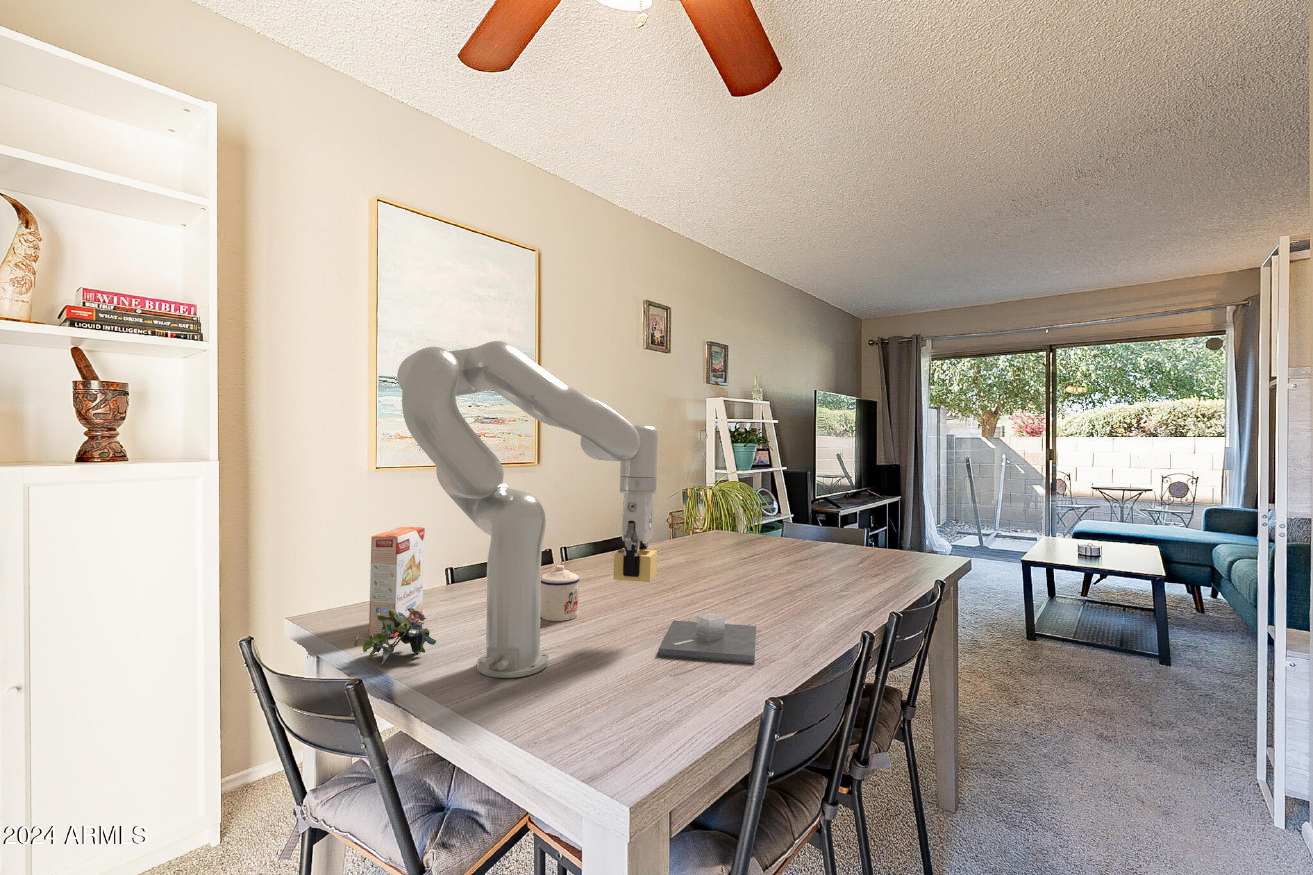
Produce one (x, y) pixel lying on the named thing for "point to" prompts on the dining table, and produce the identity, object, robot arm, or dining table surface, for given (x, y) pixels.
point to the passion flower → (407, 632)
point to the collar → (646, 566)
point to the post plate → (710, 640)
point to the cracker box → (396, 574)
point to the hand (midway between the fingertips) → (635, 571)
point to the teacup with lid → (559, 595)
